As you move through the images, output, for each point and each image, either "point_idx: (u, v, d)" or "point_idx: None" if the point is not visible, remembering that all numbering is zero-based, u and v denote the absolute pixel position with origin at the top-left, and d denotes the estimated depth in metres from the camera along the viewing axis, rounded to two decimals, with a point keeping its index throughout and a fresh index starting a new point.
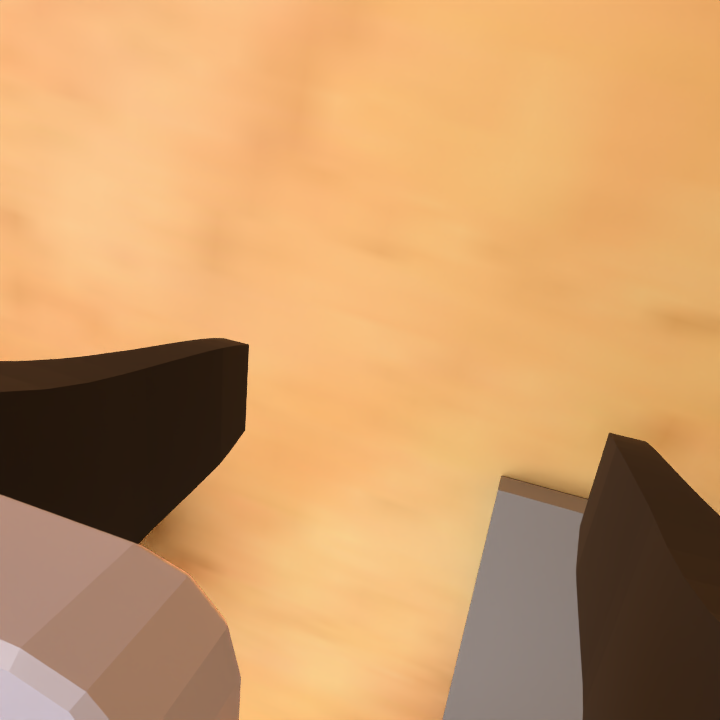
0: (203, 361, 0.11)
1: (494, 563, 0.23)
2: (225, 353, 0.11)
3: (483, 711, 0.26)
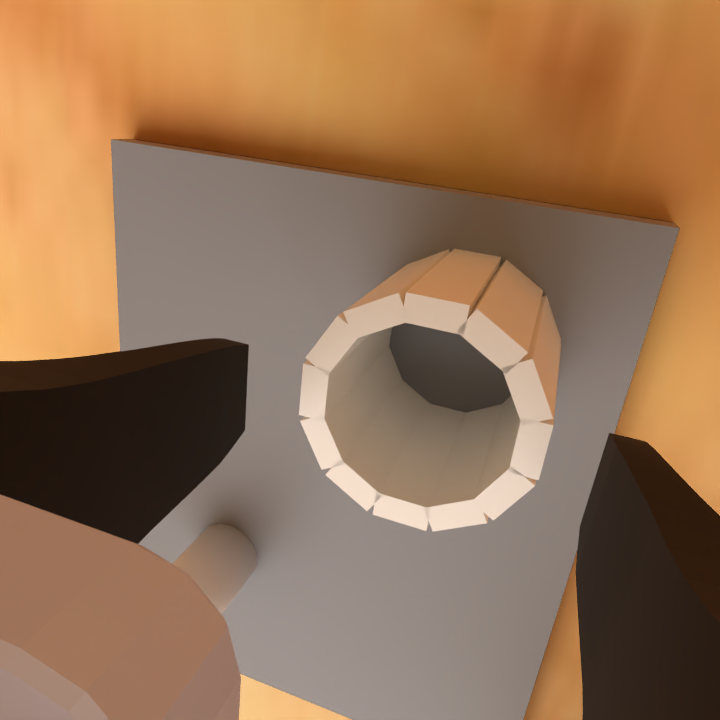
0: (203, 361, 0.11)
1: None
2: (225, 353, 0.11)
3: (374, 697, 0.22)
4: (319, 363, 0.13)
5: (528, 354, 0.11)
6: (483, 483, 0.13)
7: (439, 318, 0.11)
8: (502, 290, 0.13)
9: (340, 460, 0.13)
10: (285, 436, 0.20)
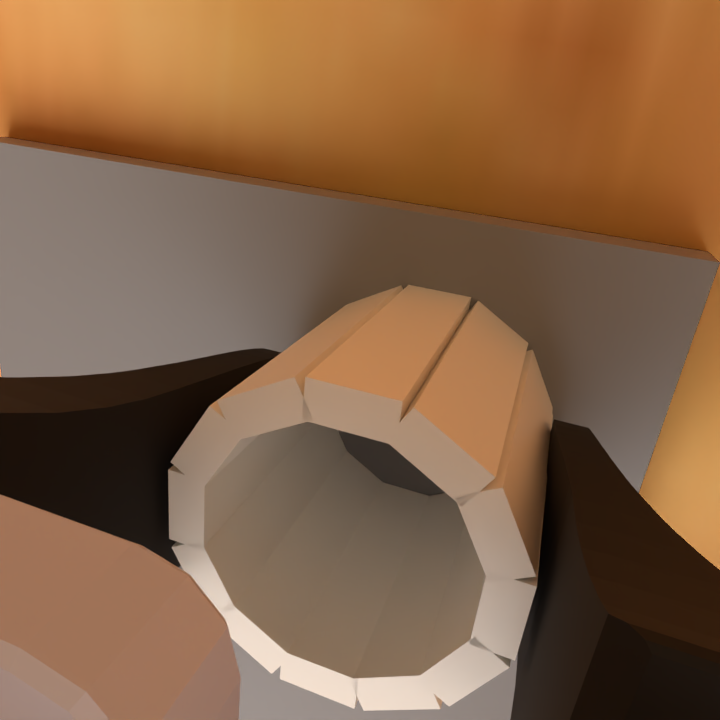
0: (249, 373, 0.10)
1: None
2: None
3: None
4: (190, 471, 0.08)
5: (497, 474, 0.07)
6: (435, 646, 0.09)
7: (358, 418, 0.07)
8: (465, 357, 0.09)
9: (230, 603, 0.09)
10: None
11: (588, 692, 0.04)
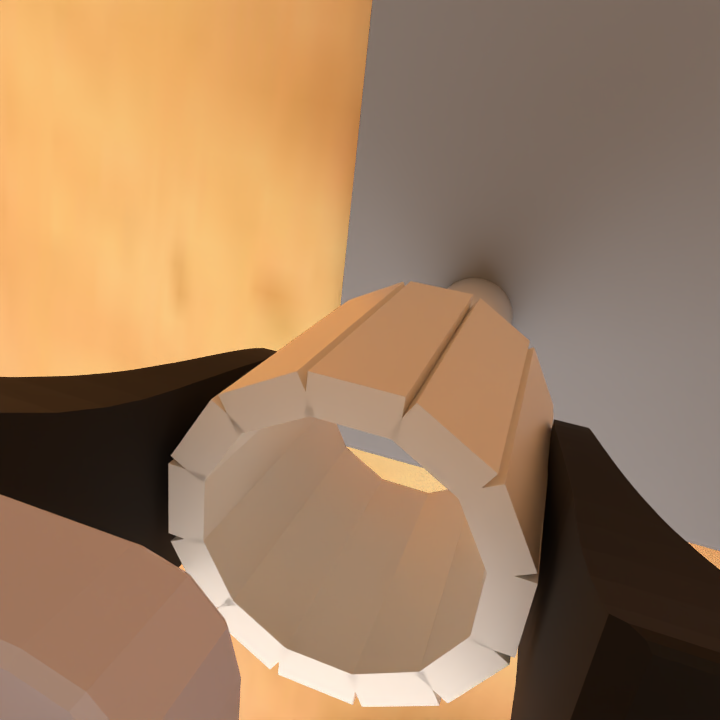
0: None
1: None
2: None
3: (643, 486, 0.19)
4: (190, 465, 0.08)
5: (499, 470, 0.07)
6: (434, 643, 0.09)
7: (360, 413, 0.07)
8: (467, 354, 0.09)
9: (229, 599, 0.09)
10: (581, 139, 0.16)
11: (590, 692, 0.04)
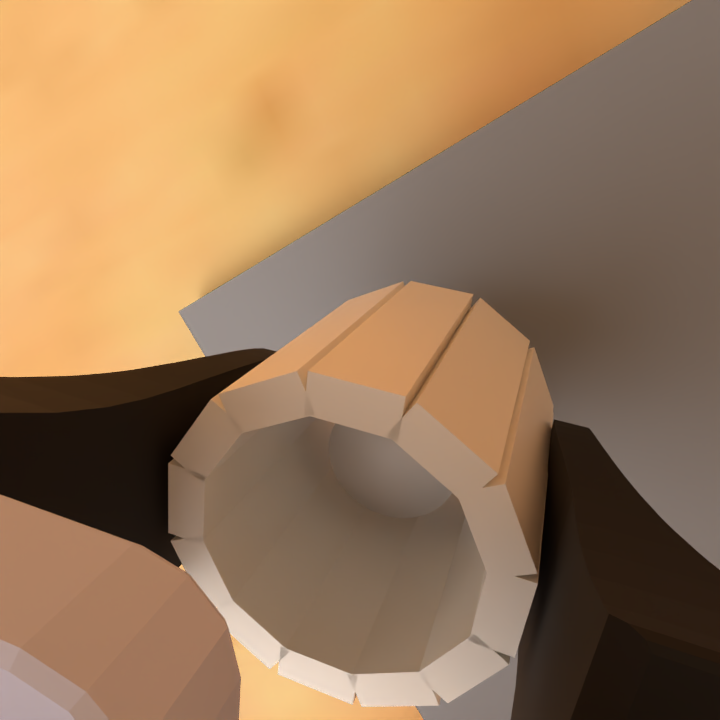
0: None
1: None
2: None
3: None
4: (190, 465, 0.08)
5: (499, 470, 0.07)
6: (434, 643, 0.09)
7: (360, 412, 0.07)
8: (467, 354, 0.09)
9: (229, 599, 0.09)
10: (716, 353, 0.13)
11: (590, 695, 0.04)
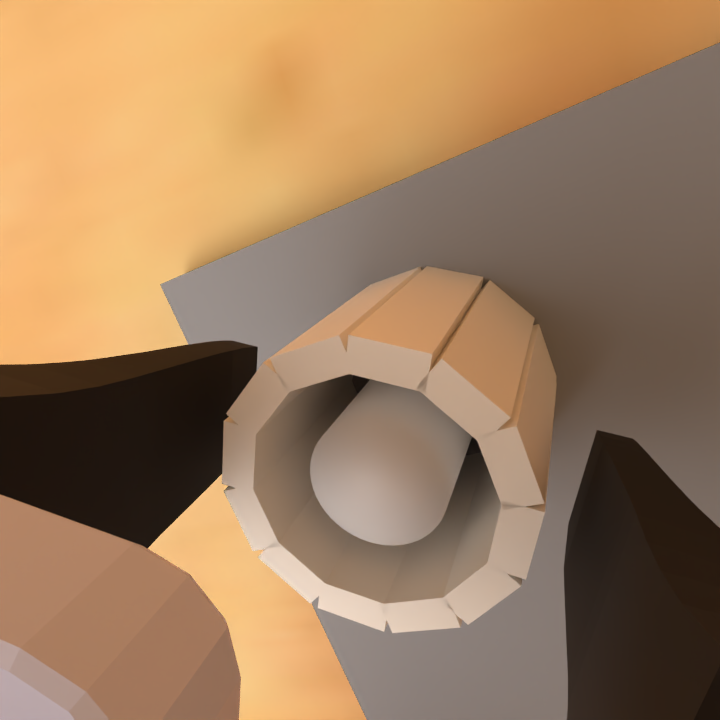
0: (213, 364, 0.11)
1: None
2: (235, 356, 0.11)
3: None
4: (243, 421, 0.10)
5: (511, 417, 0.09)
6: (456, 574, 0.10)
7: (393, 369, 0.09)
8: (481, 325, 0.10)
9: (275, 541, 0.10)
10: None
11: None
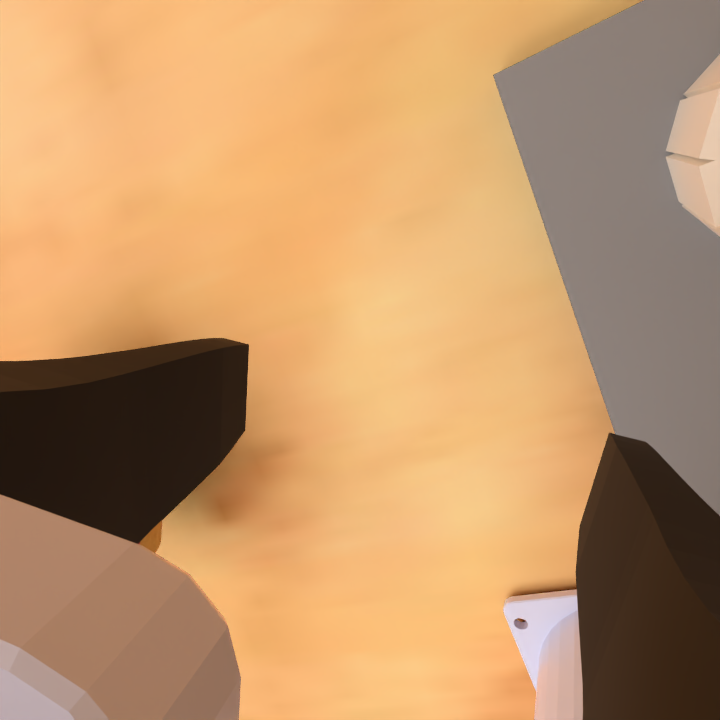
0: (203, 361, 0.11)
1: (548, 179, 0.17)
2: (225, 353, 0.11)
3: (663, 407, 0.18)
4: None
5: None
6: None
7: None
8: None
9: None
10: None
11: None
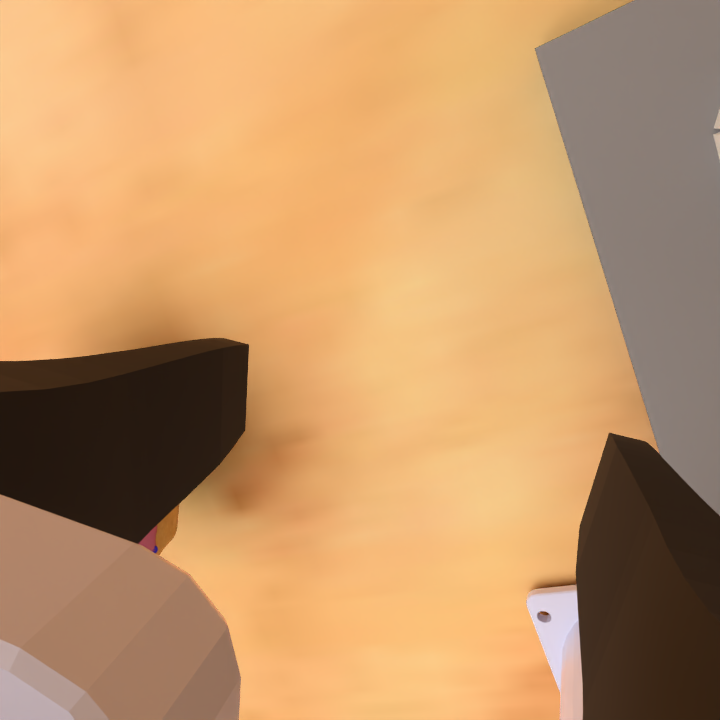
0: (203, 361, 0.11)
1: (589, 157, 0.17)
2: (225, 353, 0.11)
3: (701, 394, 0.18)
4: None
5: None
6: None
7: None
8: None
9: None
10: None
11: None
